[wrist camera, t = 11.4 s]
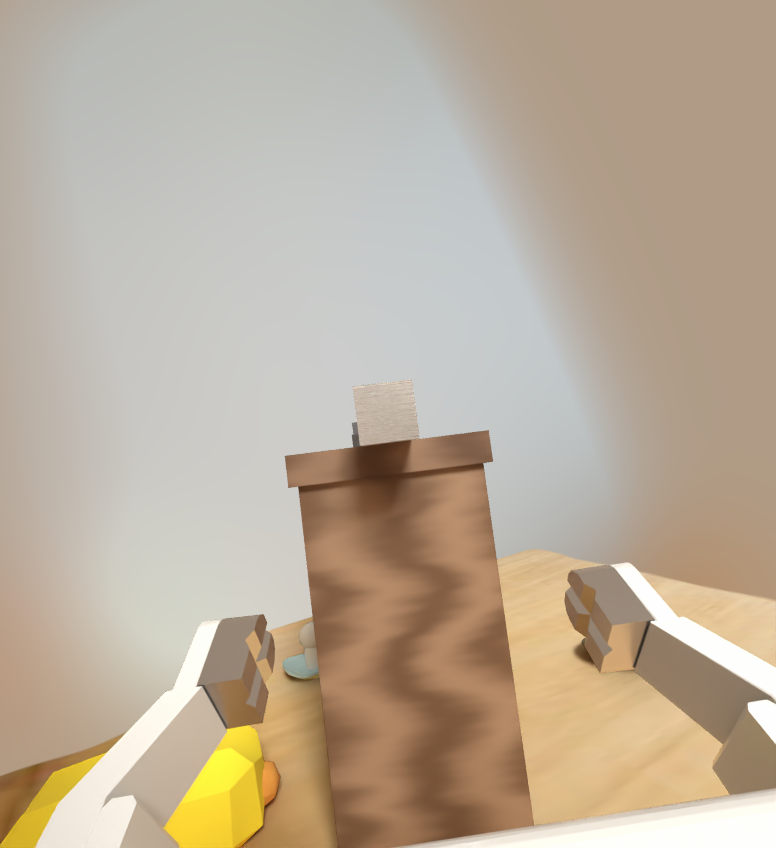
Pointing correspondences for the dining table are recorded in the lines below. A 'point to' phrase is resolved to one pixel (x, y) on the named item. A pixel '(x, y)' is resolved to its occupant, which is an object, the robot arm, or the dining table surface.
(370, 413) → the aluminium bar
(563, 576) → the dining table surface
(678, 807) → the robot arm
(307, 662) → the pacifier
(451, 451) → the walnut stand
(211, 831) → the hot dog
